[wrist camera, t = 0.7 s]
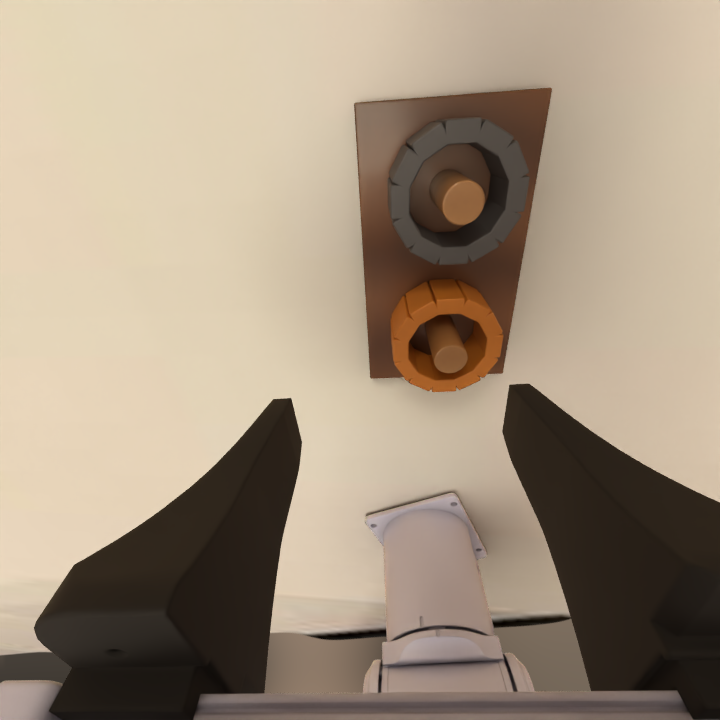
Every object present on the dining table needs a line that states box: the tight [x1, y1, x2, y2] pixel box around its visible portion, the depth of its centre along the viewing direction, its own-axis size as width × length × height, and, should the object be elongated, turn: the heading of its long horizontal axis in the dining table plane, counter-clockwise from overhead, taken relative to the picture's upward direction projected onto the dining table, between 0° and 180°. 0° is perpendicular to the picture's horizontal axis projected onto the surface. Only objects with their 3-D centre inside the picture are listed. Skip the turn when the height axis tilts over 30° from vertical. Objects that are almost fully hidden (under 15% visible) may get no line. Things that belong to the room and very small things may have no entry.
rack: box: [354, 88, 552, 378], centre depth 18 cm, size 14×8×4 cm, turn 4°
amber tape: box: [390, 279, 503, 392], centre depth 20 cm, size 5×5×3 cm
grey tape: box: [388, 117, 530, 265], centre depth 16 cm, size 5×5×3 cm
